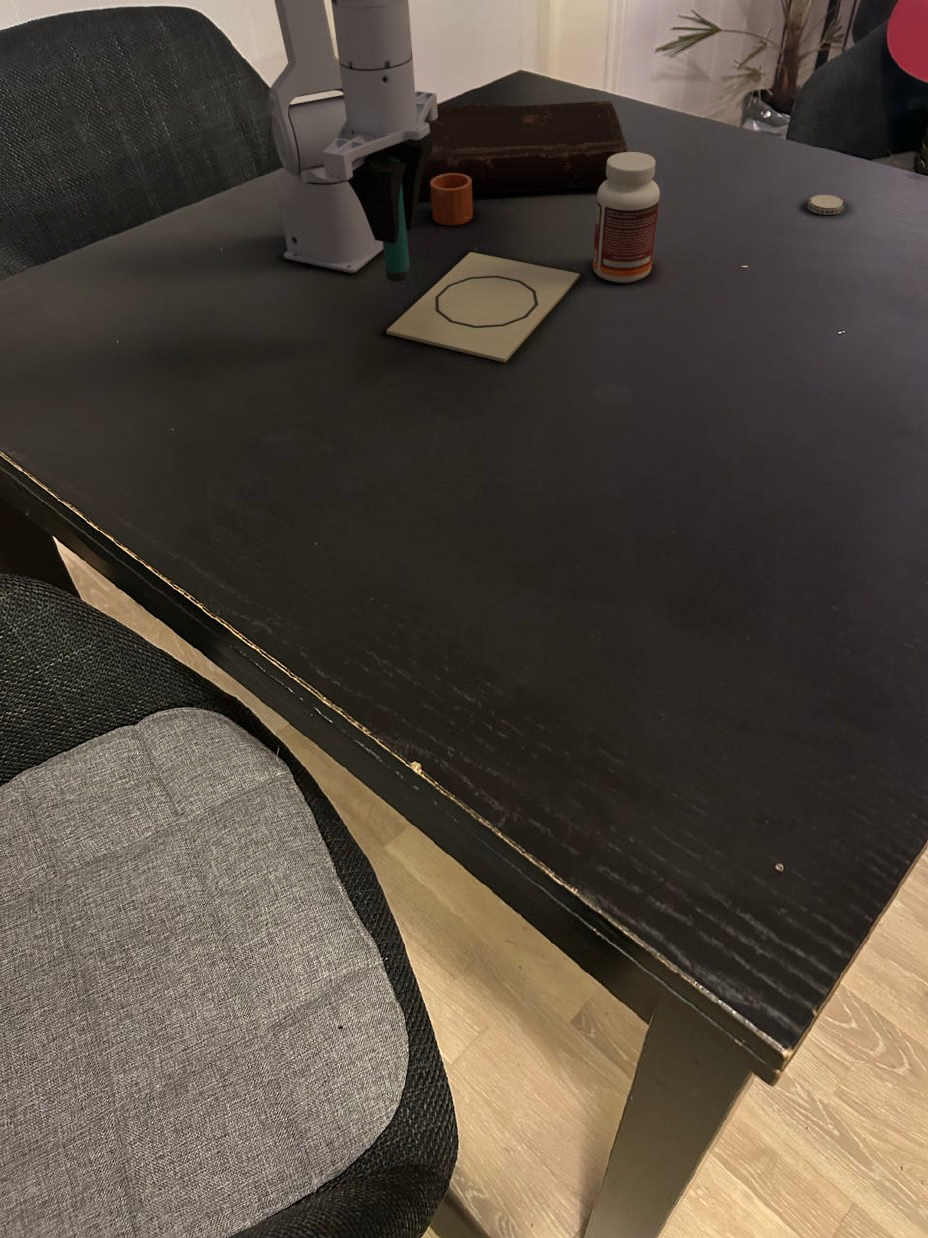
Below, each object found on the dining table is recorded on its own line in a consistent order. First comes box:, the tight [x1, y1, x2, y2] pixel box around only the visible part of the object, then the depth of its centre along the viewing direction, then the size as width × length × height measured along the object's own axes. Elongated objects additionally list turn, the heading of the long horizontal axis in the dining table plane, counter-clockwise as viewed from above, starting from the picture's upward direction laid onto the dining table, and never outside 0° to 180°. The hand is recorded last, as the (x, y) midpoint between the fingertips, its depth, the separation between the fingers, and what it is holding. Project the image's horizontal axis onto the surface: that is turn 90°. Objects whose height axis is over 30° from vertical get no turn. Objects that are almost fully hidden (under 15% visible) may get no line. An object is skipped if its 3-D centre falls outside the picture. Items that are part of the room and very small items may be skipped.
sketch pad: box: [386, 251, 581, 364], centre depth 89 cm, size 13×18×1 cm
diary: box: [418, 100, 629, 198], centre depth 111 cm, size 19×25×5 cm
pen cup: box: [430, 173, 474, 226], centre depth 102 cm, size 5×5×4 cm
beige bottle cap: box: [806, 194, 846, 215], centre depth 100 cm, size 4×4×1 cm
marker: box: [382, 157, 411, 283], centre depth 77 cm, size 2×2×10 cm
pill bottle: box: [592, 151, 661, 284], centre depth 89 cm, size 6×6×11 cm
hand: (393, 233), depth 78 cm, fingers closed on marker, 2 cm apart
